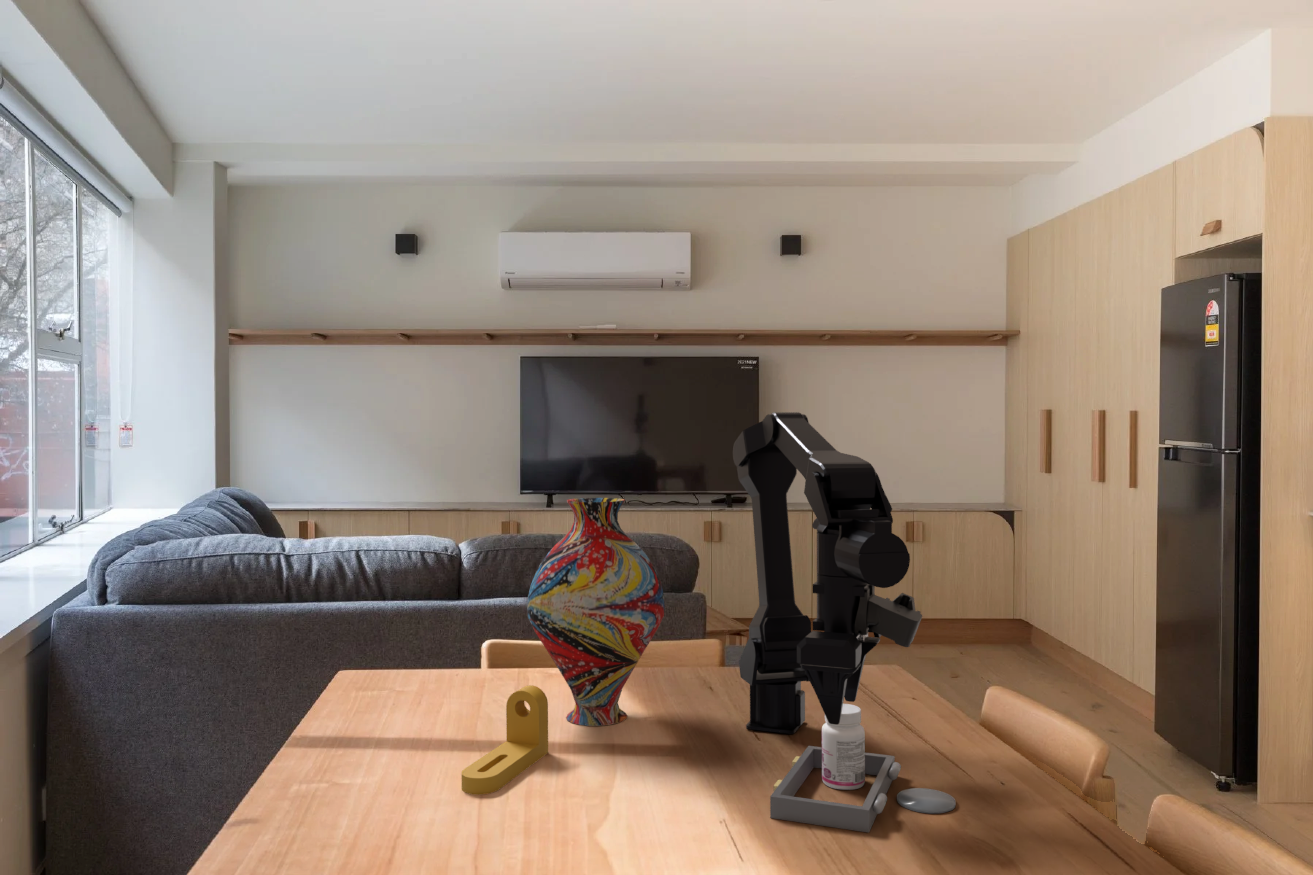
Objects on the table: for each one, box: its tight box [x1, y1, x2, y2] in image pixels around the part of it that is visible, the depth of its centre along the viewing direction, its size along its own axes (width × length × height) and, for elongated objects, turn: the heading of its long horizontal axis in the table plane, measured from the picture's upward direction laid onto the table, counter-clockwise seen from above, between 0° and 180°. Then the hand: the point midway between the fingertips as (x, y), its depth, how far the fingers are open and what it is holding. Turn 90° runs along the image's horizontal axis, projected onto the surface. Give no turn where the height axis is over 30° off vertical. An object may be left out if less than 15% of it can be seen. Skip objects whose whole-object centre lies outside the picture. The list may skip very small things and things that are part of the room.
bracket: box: [460, 684, 549, 796], centre depth 114 cm, size 15×4×8 cm, turn 161°
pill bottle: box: [821, 703, 866, 791], centre depth 110 cm, size 5×5×8 cm
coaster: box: [896, 787, 957, 814], centre depth 104 cm, size 6×6×1 cm
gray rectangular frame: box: [769, 745, 902, 833], centre depth 106 cm, size 12×17×2 cm
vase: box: [527, 497, 666, 727], centre depth 135 cm, size 19×19×30 cm
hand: (842, 712), depth 110 cm, fingers open, 9 cm apart
